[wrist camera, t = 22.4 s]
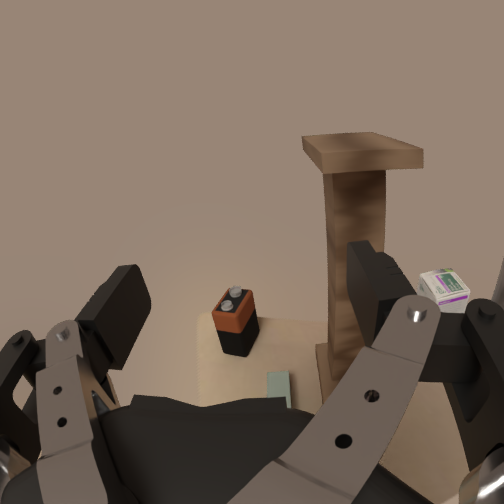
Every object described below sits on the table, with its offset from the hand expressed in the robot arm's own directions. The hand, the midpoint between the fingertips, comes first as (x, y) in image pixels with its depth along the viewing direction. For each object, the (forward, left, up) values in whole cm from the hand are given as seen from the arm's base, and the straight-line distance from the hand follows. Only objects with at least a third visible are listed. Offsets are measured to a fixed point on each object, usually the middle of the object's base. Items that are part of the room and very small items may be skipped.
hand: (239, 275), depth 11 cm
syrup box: (-22, -18, -30) cm, 41 cm away
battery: (+7, -27, -30) cm, 41 cm away
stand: (-9, -17, -30) cm, 35 cm away
